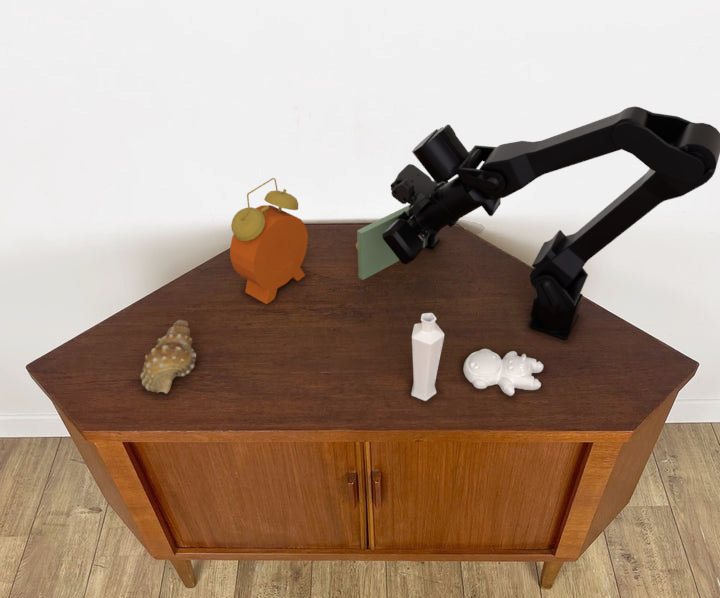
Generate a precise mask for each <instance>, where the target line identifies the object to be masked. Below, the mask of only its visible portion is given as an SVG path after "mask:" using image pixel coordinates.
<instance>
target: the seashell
mask: <svg viewBox="0 0 720 598" xmlns="http://www.w3.org/2000/svg"><path fill="white" fill-rule="evenodd" d="M190 334H191V330H190V327H189V323H188V321H186V320H182V319H177V321H175V322H174V323H173V325H172V326H171V327H169V328H168V330H167V332H166V334H165V335H164V336H162V337H158V339H157V341H156V345H155V347H153V348H152V349H151V350H150V352H149V353H146V355H145V356H144V358H145V361H144V362H143V366H142V370H141V373H140V380H141V385H142V386H143V388H145V389H146V391H148V392H152V393H156V394H159V393H164V394H165V395H166V394H168V393H169V392H170V391H171V387H172V386H173V381H174V380H175V378H176V377H178V378H179V377H185V376H187V375H189V374H190V373H191V372H192V370H193V369H194V368H195V364H196V360H197V353H196V351H195V350H194V349H193V347H192V345H193V338H192V337H191V335H190Z"/></svg>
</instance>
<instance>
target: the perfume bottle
mask: <svg viewBox="0 0 720 598" xmlns="http://www.w3.org/2000/svg"><path fill="white" fill-rule="evenodd" d="M420 316H421V317H420V321H421V322H418V323H414V325H413V328H412V329H413V330H412V334H411V353H412V375H413V383H412V388H411V392H410V395H411V396H412V397H414V398H416V399H419V400H422V401H424V402H427V401H428V400H429V399H431V398H432V397H433V396H435V395H436V394H437V392H438V391H437V389H436V379H437V376H438V375H437V374H438V369H439V365H440V359H441V355H442V350H443V346H444V345H443V344H444V340H445V333H444V331H443V330H442V329H441V327H440V326H439V325H438V324H437V322H436V321H437V319H438V318H437V317H436V316H435V314H434V313H433V312H425V313H421V315H420Z"/></svg>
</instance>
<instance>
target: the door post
mask: <svg viewBox="0 0 720 598" xmlns="http://www.w3.org/2000/svg"><path fill="white" fill-rule="evenodd" d="M439 243H440V237H437V236H434V237H431V235H429V236H428V241H427V246H425V247H424V248H426V249H429V250H431V251H433V250H434V249H435V247H436V246H437V245H438V244H439Z"/></svg>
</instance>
